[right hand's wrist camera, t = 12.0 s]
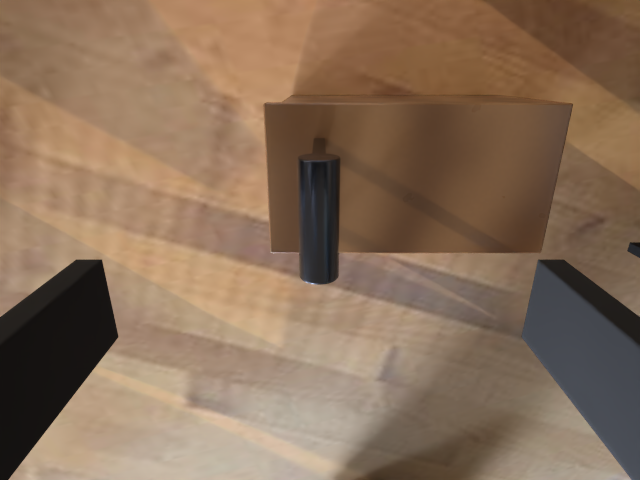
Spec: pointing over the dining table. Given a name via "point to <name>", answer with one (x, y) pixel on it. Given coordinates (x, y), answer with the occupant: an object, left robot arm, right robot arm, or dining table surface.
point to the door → (409, 178)
